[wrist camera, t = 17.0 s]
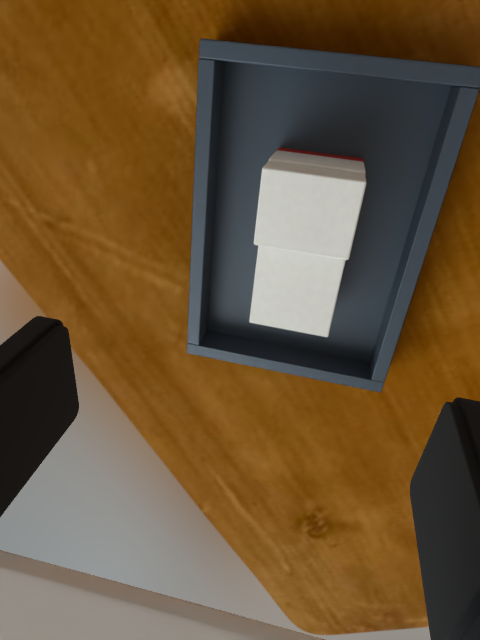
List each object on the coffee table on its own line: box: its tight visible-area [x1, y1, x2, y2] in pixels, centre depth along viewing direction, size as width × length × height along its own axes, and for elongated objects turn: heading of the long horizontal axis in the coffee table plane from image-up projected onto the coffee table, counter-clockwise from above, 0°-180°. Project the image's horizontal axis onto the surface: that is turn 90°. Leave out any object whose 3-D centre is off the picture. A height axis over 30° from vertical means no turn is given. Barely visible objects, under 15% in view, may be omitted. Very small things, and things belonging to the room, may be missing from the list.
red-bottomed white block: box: [249, 147, 367, 337], centre depth 23 cm, size 9×4×5 cm, turn 174°
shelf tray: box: [187, 39, 480, 392], centre depth 25 cm, size 18×13×3 cm
